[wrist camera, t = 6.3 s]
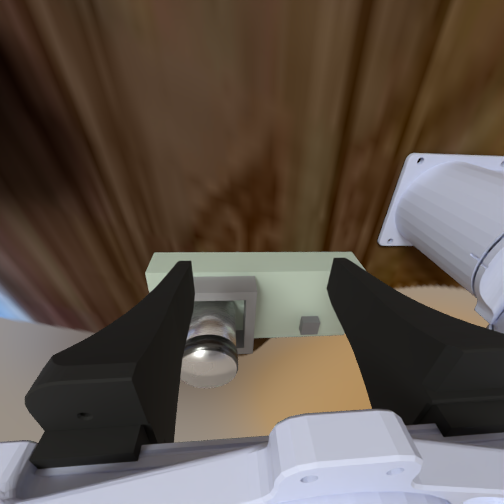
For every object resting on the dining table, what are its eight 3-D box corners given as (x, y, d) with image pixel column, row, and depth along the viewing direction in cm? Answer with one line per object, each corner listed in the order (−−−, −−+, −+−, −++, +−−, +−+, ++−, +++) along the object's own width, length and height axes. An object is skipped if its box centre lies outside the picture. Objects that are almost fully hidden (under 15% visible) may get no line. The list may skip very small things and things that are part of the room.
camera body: (351, 251, 24) (377, 286, 20) (333, 313, 29) (351, 352, 24) (154, 252, 23) (137, 289, 18) (166, 317, 27) (154, 360, 23)
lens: (236, 289, 22) (239, 351, 17) (235, 324, 24) (237, 387, 19) (185, 289, 21) (172, 353, 16) (189, 325, 24) (178, 390, 18)
